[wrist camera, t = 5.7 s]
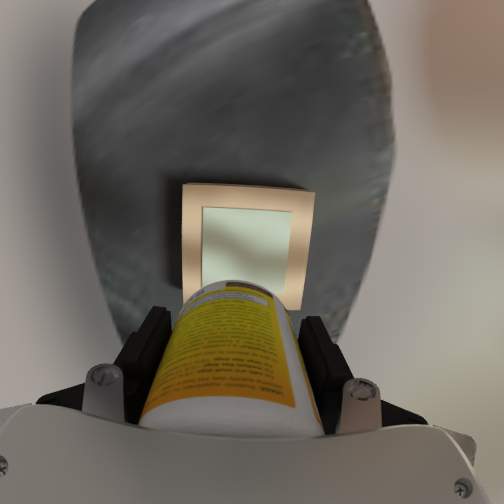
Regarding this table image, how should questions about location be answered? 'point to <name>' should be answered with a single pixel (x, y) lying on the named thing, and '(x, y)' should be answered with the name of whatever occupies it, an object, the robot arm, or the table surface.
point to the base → (246, 237)
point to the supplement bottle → (233, 369)
